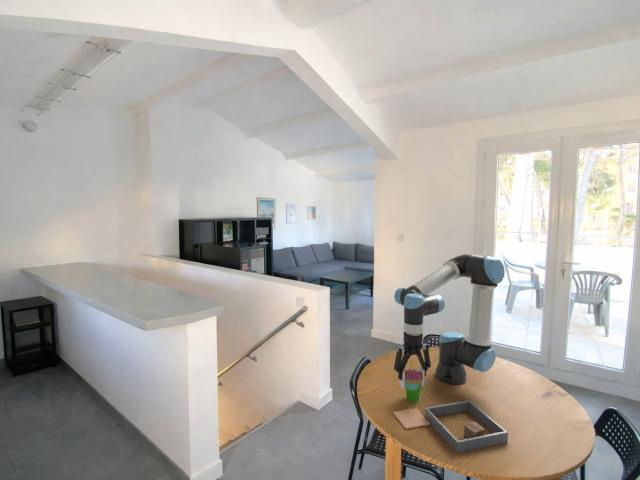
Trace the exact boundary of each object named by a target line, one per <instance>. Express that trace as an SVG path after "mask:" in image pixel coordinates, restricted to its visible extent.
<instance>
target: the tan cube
mask: <svg viewBox="0 0 640 480" xmlns="http://www.w3.org/2000/svg"><path fill="white" fill-rule="evenodd" d="M485 431H486V429H485V428H484V427H483V426H481V425H480V424H479V423H477V422H476V421H474V420H473V421H471V422H468V423H465V424H464V426H463V437H464V438H465V439H469V438H474V437H479V436H484V435H486V434H485V433H486V432H485Z"/></svg>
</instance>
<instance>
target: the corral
mask: <svg viewBox="0 0 640 480" xmlns="http://www.w3.org/2000/svg"><path fill="white" fill-rule="evenodd" d="M467 411H469V412H470V414H471V415H473V416H474V417H476V418H477V420H479V421H480V422H481V423H482V424H484V425H485V426H486V427H487V428H488V429H489V430H491V431H492V432H493V433H489V434H485V435H484V436H479V437H474V438H469V439H466V438H465V439H460V440H458V438H456V436H454V435H453V433H451V431H450V430H449V429H448V428H447V427H446V426H445V425H444V424H443V423H442V422H441V420H439V419H438V418H437V417H440V416H445V415H449V414H456V413H461V412H467ZM424 417H425V418H426V419H427V420H428V422H429V423H430V425H431V426H432V427H433V428H434V429H435V430H436V431H437V432H438V433H439V435H441V437H442V438H443V439H444V440H445V441H446V442H447V443H448V444H449V446H450V447H452V449H453V450H454V452H456V453H457V454H459V453H462V452H469V451H472V450H477V449H481V448H487V447H491V446H497V445H499V444H501V445H502V444H505V443H508V440H509V437H508V436H509V432H508V431H507V430H506V429H505V428H503V426H501V425H500V424H498V423H497V422H496V421H495V420H494V419H493V418H492V417H490V416H489V415H488V414H487V413H485V412H484V411H483V410H482V409H481V408H480V407H478V406H477V405H476V404H474V403H473V402H472V401H471V400H464V401H459V402H457V401H456V402H452V403H446V404H441V405H435V406H434V405H433V406H428V407H425V408H424Z"/></svg>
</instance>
